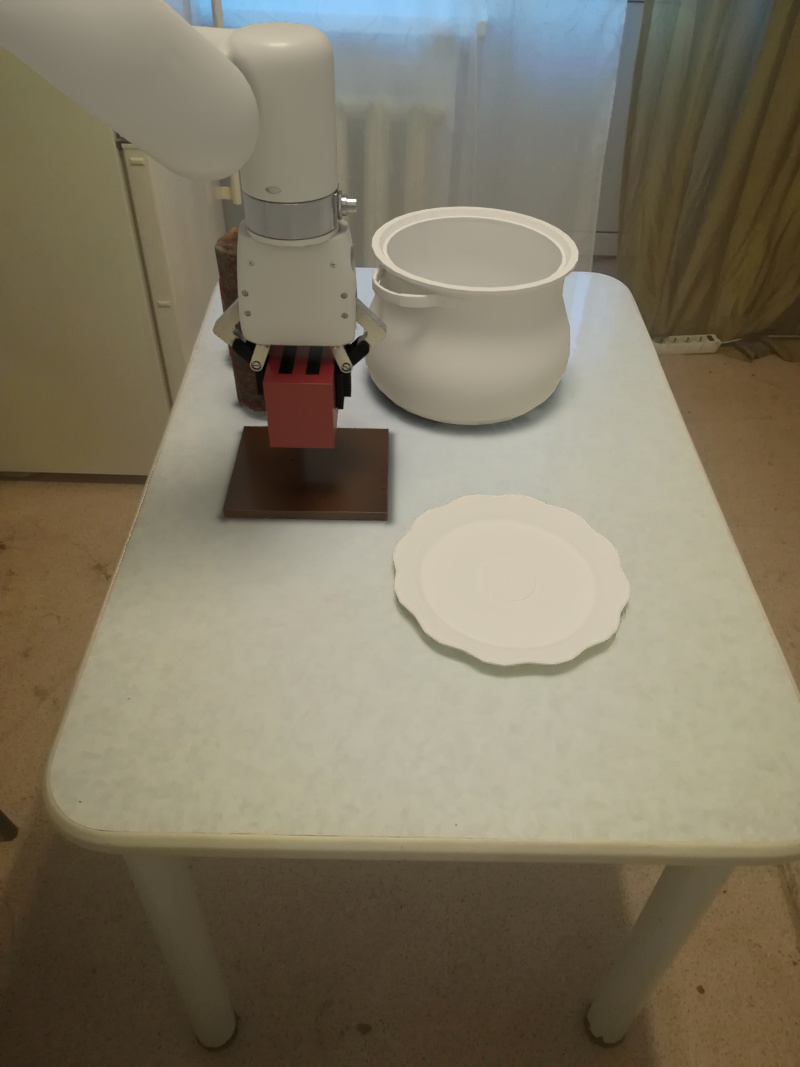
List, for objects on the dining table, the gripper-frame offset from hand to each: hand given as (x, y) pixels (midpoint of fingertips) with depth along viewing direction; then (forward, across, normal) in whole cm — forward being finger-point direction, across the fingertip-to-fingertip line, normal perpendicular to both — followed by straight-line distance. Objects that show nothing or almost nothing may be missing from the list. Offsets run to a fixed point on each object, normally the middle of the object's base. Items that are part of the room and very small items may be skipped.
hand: (305, 399), depth 72 cm
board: (+9, 0, 0) cm, 9 cm away
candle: (+9, +6, -13) cm, 17 cm away
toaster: (+2, 0, 0) cm, 2 cm away
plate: (+9, -19, +15) cm, 26 cm away
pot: (+9, -17, -19) cm, 27 cm away
